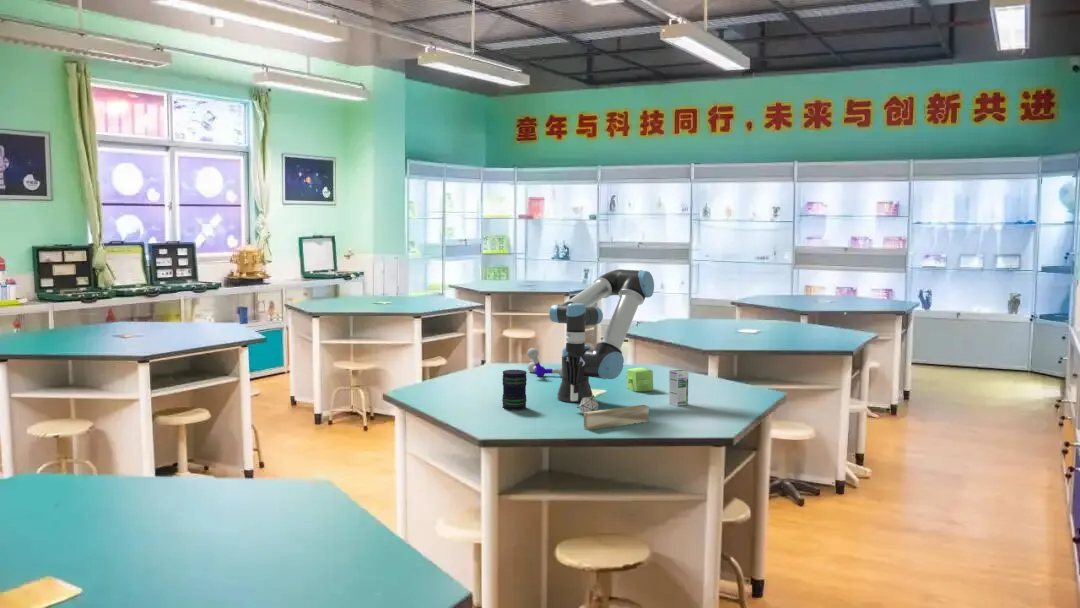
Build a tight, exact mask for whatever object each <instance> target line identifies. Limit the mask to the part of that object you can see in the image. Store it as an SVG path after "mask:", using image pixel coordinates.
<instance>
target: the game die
mask: <svg viewBox="0 0 1080 608" xmlns="http://www.w3.org/2000/svg"><path fill="white" fill-rule="evenodd" d="M601 405H602V403H599V402H598V401H597V400H596V398H595V394H593V397H583V396H582V400H581V402H579V405H578V406H577V407H576V409H579V410H580V411H581V412H582V414H583V415H584V412H591V411H598V408H599V407H600V406H601Z"/></svg>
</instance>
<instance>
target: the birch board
mask: <svg viewBox="0 0 1080 608" xmlns="http://www.w3.org/2000/svg"><path fill="white" fill-rule="evenodd" d="M649 408H650V406H649V405H646V404H640V405H631V406H625V407H624V406H623V407H617V408H608V409H600V410H597V411H591V412H584V414H583V429H584V430H587V431H591V430H597V429H598V430H599V429H606V427H607V428H613V426H614V427H620V426H629V425H634V423H636V424H642V423H641V422H643V423H648V422H649V413H650V412H649ZM628 424H629V425H628Z"/></svg>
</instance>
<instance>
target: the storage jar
mask: <svg viewBox="0 0 1080 608" xmlns="http://www.w3.org/2000/svg"><path fill="white" fill-rule="evenodd" d="M526 387H527V371H526V370H522V369H506V370H503V371H502V393H503V394H502V399H501V402H502V409H503V408H504V409H503V410H505V409H508V410H507V411H523V410H526V409H527V394H526V391H527V389H526Z"/></svg>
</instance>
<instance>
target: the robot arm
mask: <svg viewBox="0 0 1080 608" xmlns="http://www.w3.org/2000/svg"><path fill="white" fill-rule="evenodd" d="M654 290H655V281H654V277H653V275H652V272H650V271H647V270H642V269H640V270H637V269H636V270H635V269H615V270H611V271H608V272H606V273H604V274H602V275H600V276H599V277H597V278H596V279H595V280H594V281H593V282H592V284H591V285H589V286H588V287H587V288H585V289H583V290H582V291H581V292H579V293H577V294H576V295H574V296H573V297H571V298H570V299H569V300H567V301H565V302H564V303H563V304H552V306H551V307H550V308H549V312H548V313H549V314H548V315H549V319H550V321H551V322H553V323H558V324H566V335H565V341H566V343H565V347H564V348H563V349H562V351H561V354H562V355H561V366H562V376H561V382H560V386H559V389H558V392H557V397H556V398H557V400H559V401H561V402H568V403H581V400H582V396H583V397H593V395H594V394H593V390H592V388H591V384H590V378H595V379H601V380H614V379H617V378H618V377H619V376H620V375H621V373H622V371H623V369H624V362H625V359H624V356H623V351H622V350H621V348H622V346H623V344H624V341H625V339H626V336H627V334H628V331H629V329H630V327H631V324H632V321H633V320H634V317H635V314H636V311H637V310H638V307H639V306H640V305H643V303H644V301H645V299H646V298H650V297H652V296H653V294H654ZM611 296H619V299H618V302H617V304H616V307H615V309H614V311H613V313H612V316H611V318H610V320H609V324H608V325H607V328H606V330H605V331H604V335H603V337H602V340H601V341H599V342H597V343H596V345H595V348H594V349H590V345H589V344H586V343H585V342H586V327H587V326H589V327H590V326H596V325H599V324H601V322H602V321H603V319H604V313H603V311H602V310H601V308H600V307H599V306H594V305H595V304H597V302H599V301H601V300H603V299H606V298H607V299H608V298H609V297H611Z"/></svg>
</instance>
